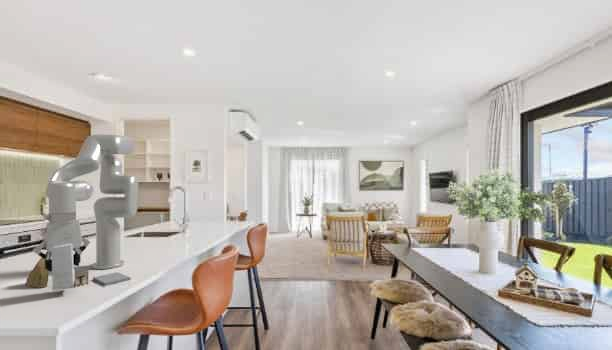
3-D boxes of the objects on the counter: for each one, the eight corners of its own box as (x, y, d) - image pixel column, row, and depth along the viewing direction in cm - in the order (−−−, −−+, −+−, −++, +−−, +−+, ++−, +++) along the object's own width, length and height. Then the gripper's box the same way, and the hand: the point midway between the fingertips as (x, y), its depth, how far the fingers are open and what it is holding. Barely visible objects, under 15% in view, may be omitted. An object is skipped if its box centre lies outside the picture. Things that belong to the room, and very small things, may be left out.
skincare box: (73, 287, 110) (73, 244, 110) (51, 291, 107) (50, 247, 107) (74, 280, 117) (74, 240, 117) (53, 283, 114) (53, 242, 114)
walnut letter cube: (68, 285, 121) (68, 271, 121) (83, 281, 125) (83, 268, 125) (73, 288, 118) (73, 274, 118) (88, 284, 122) (88, 271, 122)
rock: (55, 280, 119) (60, 270, 128) (37, 264, 116) (43, 255, 125) (26, 301, 116) (33, 289, 124) (6, 285, 113) (15, 274, 121)
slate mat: (92, 280, 127) (92, 277, 127) (117, 274, 134) (117, 272, 134) (105, 285, 119) (105, 283, 119) (130, 279, 127) (130, 277, 127)
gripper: (33, 221, 103) (34, 276, 103) (95, 215, 117) (95, 264, 117) (27, 219, 107) (28, 272, 108) (87, 213, 121) (87, 260, 121)
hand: (63, 267), depth 112 cm, fingers closed on skincare box, 7 cm apart
